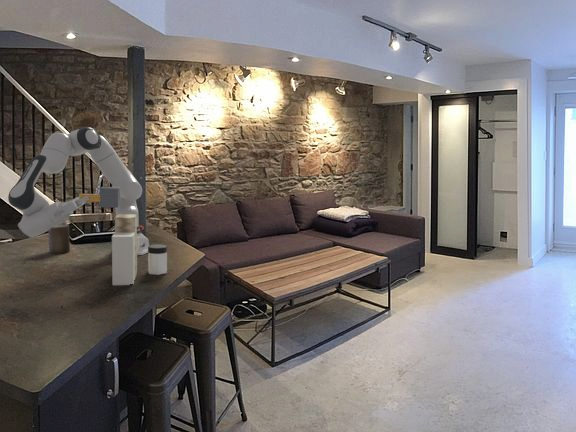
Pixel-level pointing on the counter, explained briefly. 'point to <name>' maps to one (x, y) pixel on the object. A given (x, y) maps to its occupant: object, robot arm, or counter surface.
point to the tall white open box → (123, 258)
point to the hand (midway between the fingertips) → (89, 196)
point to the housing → (105, 197)
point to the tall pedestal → (127, 228)
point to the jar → (157, 259)
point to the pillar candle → (59, 239)
